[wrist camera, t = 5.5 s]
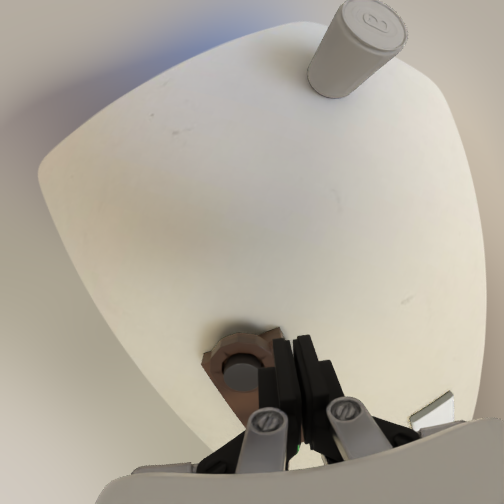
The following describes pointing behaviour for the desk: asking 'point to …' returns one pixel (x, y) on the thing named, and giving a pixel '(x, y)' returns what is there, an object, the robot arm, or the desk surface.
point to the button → (242, 372)
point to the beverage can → (356, 46)
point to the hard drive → (435, 413)
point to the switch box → (237, 344)
